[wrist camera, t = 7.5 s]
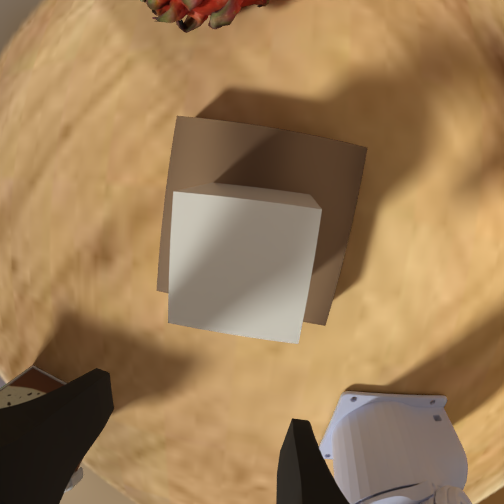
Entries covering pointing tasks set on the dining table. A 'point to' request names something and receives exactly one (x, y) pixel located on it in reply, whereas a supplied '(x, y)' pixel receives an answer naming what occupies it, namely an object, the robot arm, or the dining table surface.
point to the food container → (30, 388)
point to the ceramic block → (242, 260)
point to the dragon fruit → (199, 11)
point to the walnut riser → (271, 186)
